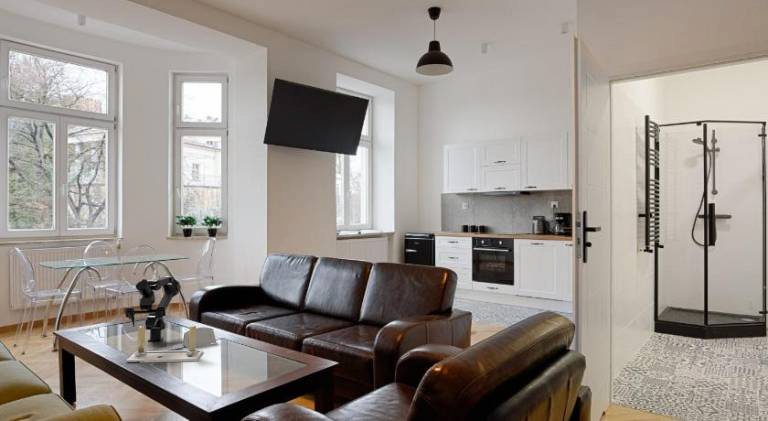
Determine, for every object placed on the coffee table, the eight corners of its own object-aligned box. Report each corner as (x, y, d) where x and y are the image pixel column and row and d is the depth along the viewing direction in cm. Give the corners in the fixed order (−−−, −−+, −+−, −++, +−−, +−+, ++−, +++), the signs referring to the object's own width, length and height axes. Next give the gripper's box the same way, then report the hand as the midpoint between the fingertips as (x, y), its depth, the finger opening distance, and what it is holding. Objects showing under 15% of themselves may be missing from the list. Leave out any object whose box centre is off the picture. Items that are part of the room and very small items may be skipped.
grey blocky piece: (185, 348, 245) (184, 329, 248) (182, 349, 248) (181, 330, 251) (217, 343, 255) (215, 325, 258) (214, 344, 259) (212, 326, 262)
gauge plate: (136, 353, 234) (137, 324, 234) (202, 352, 239) (203, 323, 239) (125, 362, 220) (126, 331, 220) (196, 361, 225) (197, 330, 225)
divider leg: (137, 352, 230) (138, 325, 230) (147, 352, 231) (147, 325, 231) (132, 357, 224) (133, 329, 224) (142, 356, 224) (143, 329, 224)
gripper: (126, 292, 237) (121, 318, 227) (166, 290, 244) (163, 316, 233) (128, 304, 245) (123, 330, 234) (167, 302, 251) (164, 328, 241)
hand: (143, 326), depth 236 cm, fingers open, 9 cm apart
